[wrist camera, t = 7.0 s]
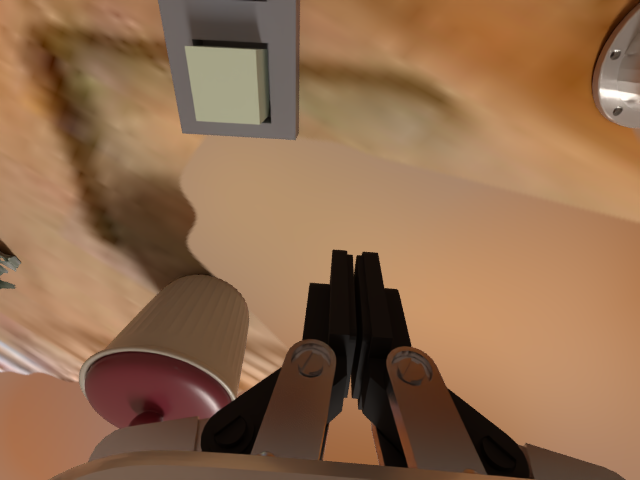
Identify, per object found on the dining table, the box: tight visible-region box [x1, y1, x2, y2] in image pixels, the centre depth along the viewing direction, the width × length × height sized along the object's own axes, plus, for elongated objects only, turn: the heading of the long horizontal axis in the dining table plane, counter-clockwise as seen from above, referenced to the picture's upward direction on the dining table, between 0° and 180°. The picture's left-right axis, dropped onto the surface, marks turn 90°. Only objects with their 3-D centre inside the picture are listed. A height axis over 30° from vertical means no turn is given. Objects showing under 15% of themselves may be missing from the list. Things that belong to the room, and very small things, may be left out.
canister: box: [79, 274, 249, 429], centre depth 41 cm, size 18×18×21 cm
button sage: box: [185, 46, 270, 125], centre depth 30 cm, size 6×6×5 cm
